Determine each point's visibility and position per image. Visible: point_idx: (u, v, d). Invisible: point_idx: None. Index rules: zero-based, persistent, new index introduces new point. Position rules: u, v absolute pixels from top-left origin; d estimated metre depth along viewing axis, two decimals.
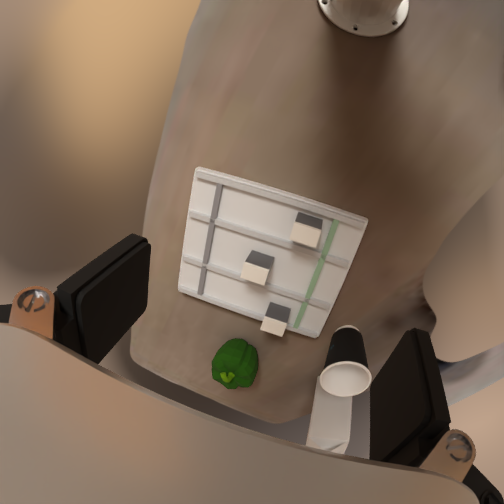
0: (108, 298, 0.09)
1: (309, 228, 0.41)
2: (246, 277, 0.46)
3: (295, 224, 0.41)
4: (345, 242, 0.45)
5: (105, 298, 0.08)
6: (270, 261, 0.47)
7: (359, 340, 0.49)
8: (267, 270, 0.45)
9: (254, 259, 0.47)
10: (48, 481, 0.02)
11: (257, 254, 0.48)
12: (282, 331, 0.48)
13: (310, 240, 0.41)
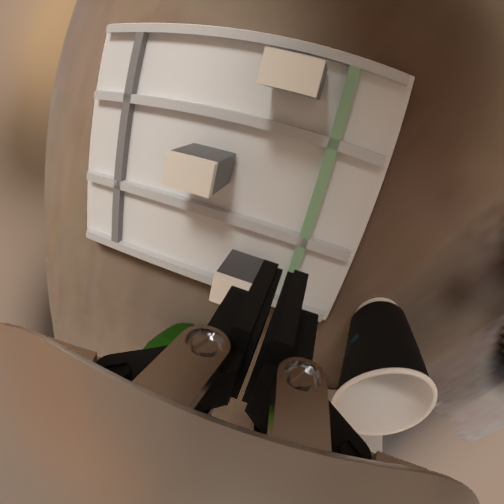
0: (262, 328, 0.09)
1: (299, 55, 0.16)
2: (172, 182, 0.21)
3: (268, 49, 0.16)
4: (375, 117, 0.20)
5: (262, 329, 0.09)
6: (225, 155, 0.22)
7: (406, 324, 0.24)
8: (213, 162, 0.20)
9: (191, 150, 0.22)
10: (48, 481, 0.02)
11: (202, 147, 0.24)
12: None
13: (303, 81, 0.16)
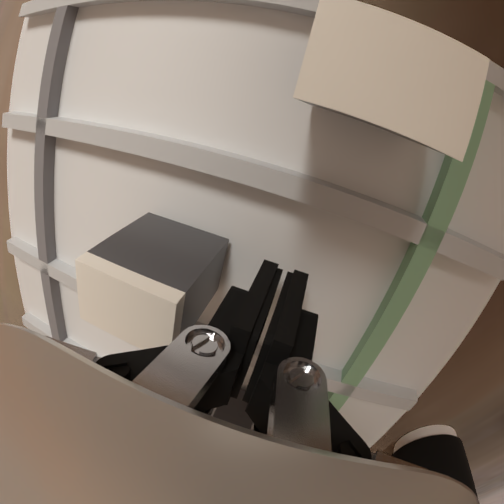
0: (262, 328, 0.09)
1: (422, 29, 0.04)
2: (98, 320, 0.10)
3: (331, 0, 0.05)
4: (503, 184, 0.09)
5: (262, 329, 0.09)
6: (206, 254, 0.11)
7: (467, 470, 0.12)
8: (174, 296, 0.09)
9: (135, 243, 0.10)
10: (48, 481, 0.02)
11: (161, 225, 0.12)
12: None
13: (434, 107, 0.05)
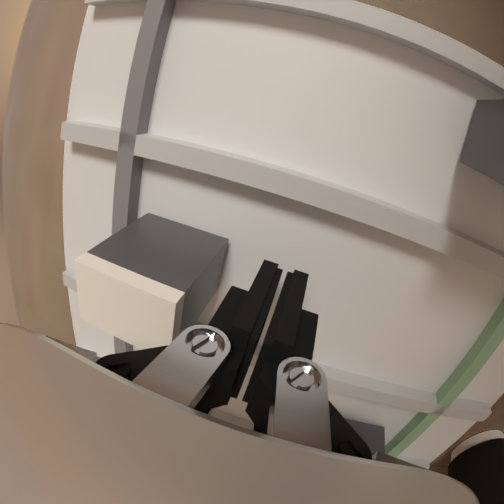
0: (262, 328, 0.09)
1: None
2: (98, 320, 0.10)
3: None
4: None
5: (262, 329, 0.09)
6: (205, 254, 0.11)
7: None
8: (174, 296, 0.09)
9: (135, 243, 0.10)
10: (48, 481, 0.02)
11: (161, 225, 0.12)
12: None
13: None
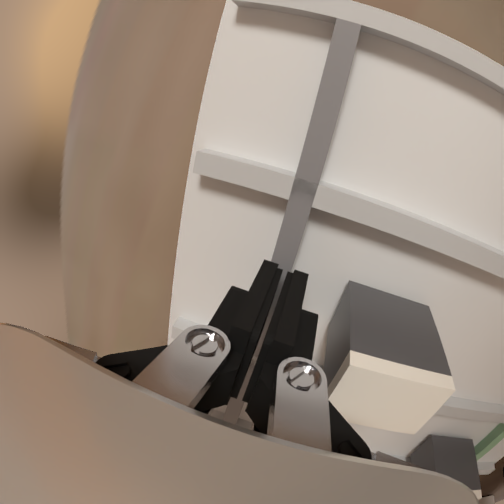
0: (262, 328, 0.09)
1: None
2: (347, 414, 0.09)
3: None
4: None
5: (262, 329, 0.09)
6: (431, 328, 0.10)
7: None
8: (449, 383, 0.08)
9: (378, 328, 0.09)
10: (48, 481, 0.02)
11: (375, 298, 0.11)
12: None
13: None
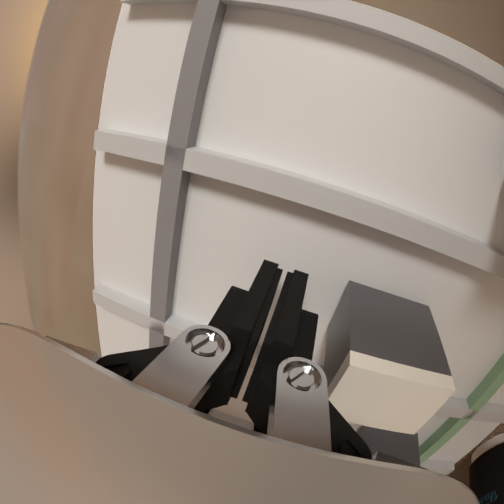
0: (262, 328, 0.09)
1: None
2: (347, 415, 0.09)
3: None
4: None
5: (262, 329, 0.09)
6: (431, 328, 0.10)
7: None
8: (449, 383, 0.08)
9: (378, 328, 0.09)
10: (48, 481, 0.02)
11: (375, 298, 0.11)
12: None
13: None
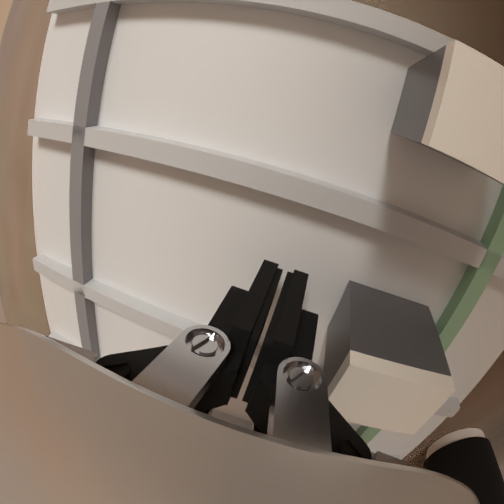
0: (262, 328, 0.09)
1: None
2: (347, 414, 0.09)
3: (463, 51, 0.04)
4: None
5: (262, 329, 0.09)
6: (430, 328, 0.10)
7: (497, 469, 0.12)
8: (449, 383, 0.08)
9: (378, 328, 0.09)
10: (48, 481, 0.02)
11: (375, 298, 0.11)
12: None
13: None
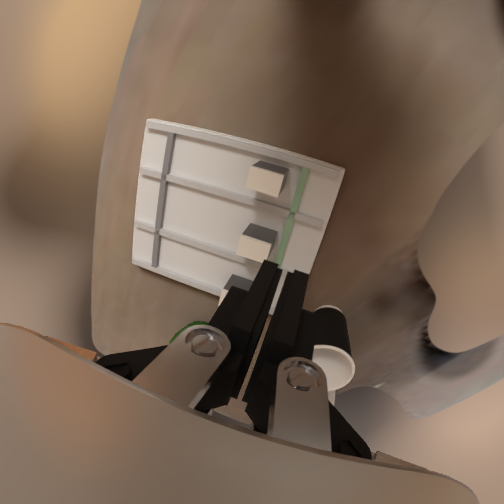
0: (262, 328, 0.09)
1: (269, 172, 0.33)
2: (243, 254, 0.37)
3: (251, 168, 0.33)
4: (318, 197, 0.37)
5: (262, 329, 0.09)
6: (273, 235, 0.39)
7: (341, 322, 0.41)
8: (269, 244, 0.36)
9: (253, 232, 0.38)
10: (48, 481, 0.02)
11: (256, 227, 0.40)
12: None
13: (271, 188, 0.33)
